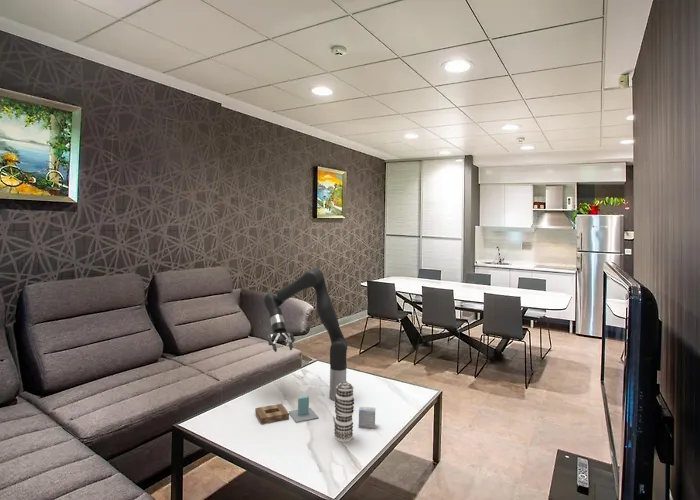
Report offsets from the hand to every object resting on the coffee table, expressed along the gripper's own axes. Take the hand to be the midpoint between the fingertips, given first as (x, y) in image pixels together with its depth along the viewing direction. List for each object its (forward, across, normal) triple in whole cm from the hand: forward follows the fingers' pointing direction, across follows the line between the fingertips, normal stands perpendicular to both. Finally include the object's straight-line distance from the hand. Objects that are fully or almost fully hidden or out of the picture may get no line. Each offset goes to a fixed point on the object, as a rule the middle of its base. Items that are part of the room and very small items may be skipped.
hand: (283, 350), depth 227 cm
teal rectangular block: (+34, +5, +6) cm, 35 cm away
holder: (+31, -10, +10) cm, 34 cm away
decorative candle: (+53, +15, -13) cm, 57 cm away
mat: (+34, +5, +6) cm, 35 cm away
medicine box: (+50, +30, -9) cm, 59 cm away
